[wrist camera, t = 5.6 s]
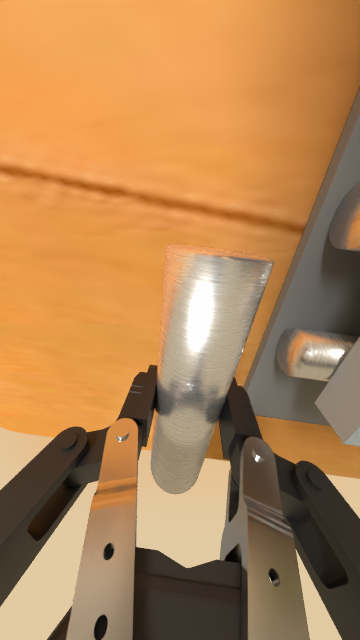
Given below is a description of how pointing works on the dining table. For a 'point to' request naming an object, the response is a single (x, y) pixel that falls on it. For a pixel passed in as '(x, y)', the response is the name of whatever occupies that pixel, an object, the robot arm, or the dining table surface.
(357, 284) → the mat
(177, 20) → the dining table surface
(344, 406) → the slab
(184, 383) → the roller
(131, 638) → the robot arm
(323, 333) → the bed rollers
